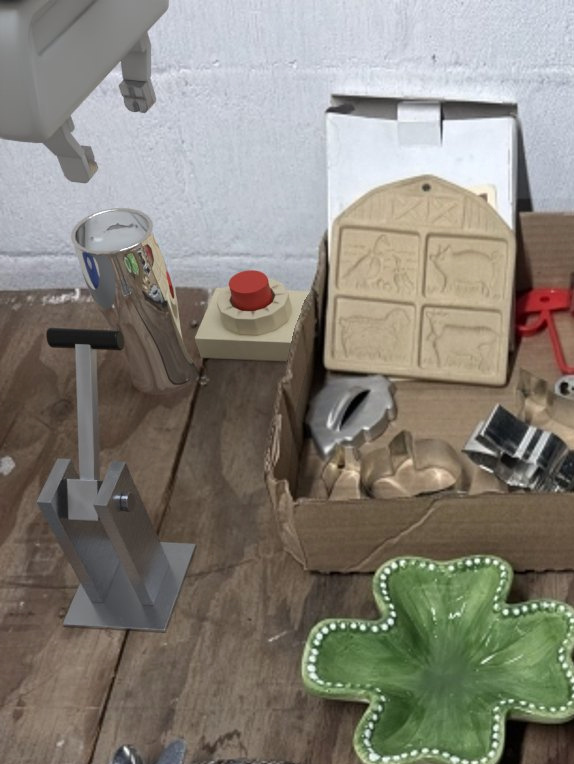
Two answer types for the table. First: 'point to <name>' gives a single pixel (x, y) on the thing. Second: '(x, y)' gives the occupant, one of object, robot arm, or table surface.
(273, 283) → the button box
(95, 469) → the lever
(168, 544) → the bracket
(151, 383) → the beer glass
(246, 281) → the button
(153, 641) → the table surface
